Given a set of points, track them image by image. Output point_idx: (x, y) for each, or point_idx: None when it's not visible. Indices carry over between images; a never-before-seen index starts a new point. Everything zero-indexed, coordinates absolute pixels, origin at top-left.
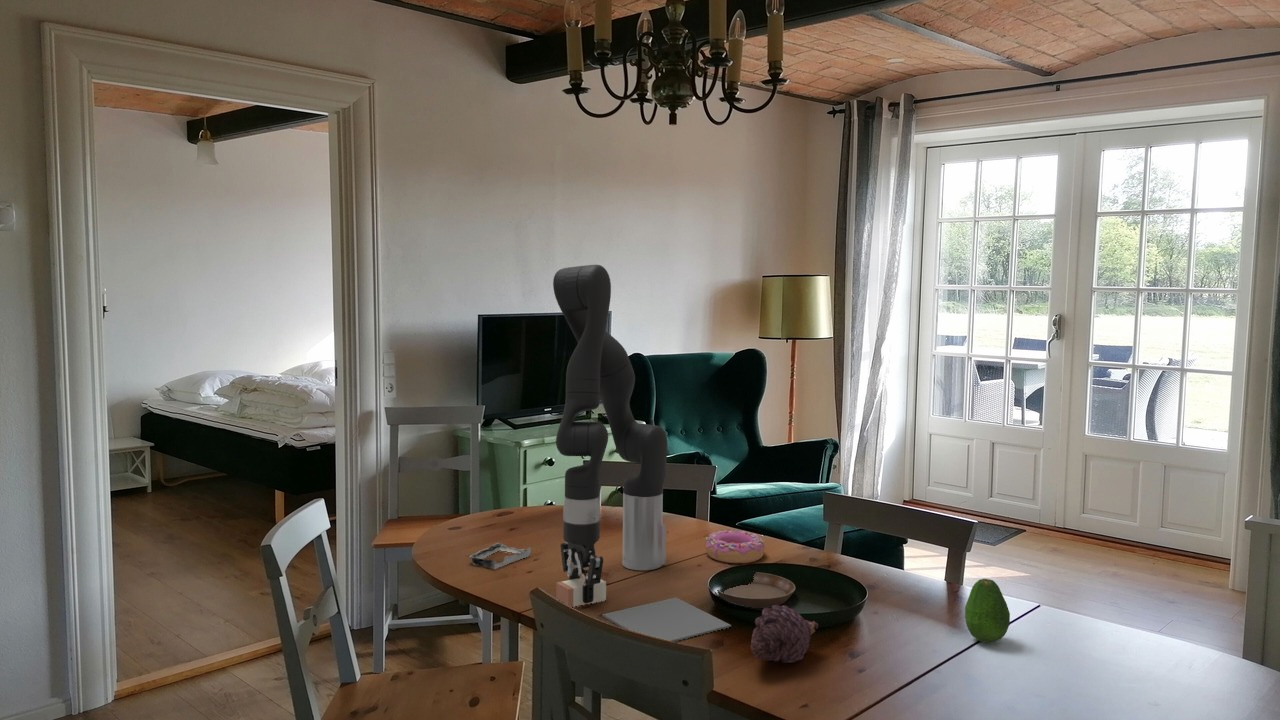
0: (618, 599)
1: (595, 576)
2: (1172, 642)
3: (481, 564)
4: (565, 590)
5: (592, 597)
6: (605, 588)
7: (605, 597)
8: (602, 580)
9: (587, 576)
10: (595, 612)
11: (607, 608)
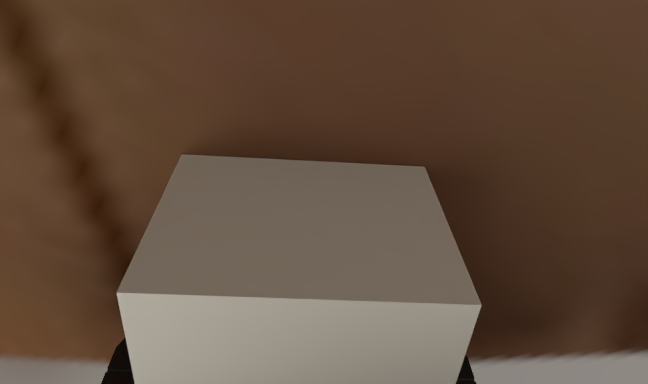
0: (494, 45)
1: (183, 300)
2: None
3: None
4: None
5: (466, 368)
6: (453, 250)
7: (429, 187)
8: (397, 311)
9: (133, 369)
10: (558, 346)
11: (577, 253)
